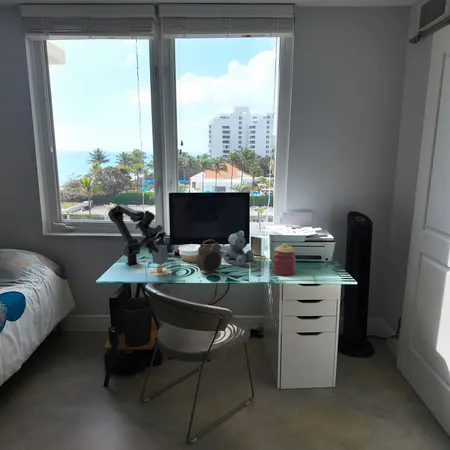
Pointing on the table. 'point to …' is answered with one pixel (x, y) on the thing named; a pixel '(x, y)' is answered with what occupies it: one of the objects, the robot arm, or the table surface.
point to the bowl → (189, 252)
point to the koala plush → (238, 250)
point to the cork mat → (155, 273)
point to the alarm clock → (209, 257)
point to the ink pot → (159, 269)
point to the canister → (284, 260)
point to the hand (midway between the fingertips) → (161, 250)
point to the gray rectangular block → (160, 254)
